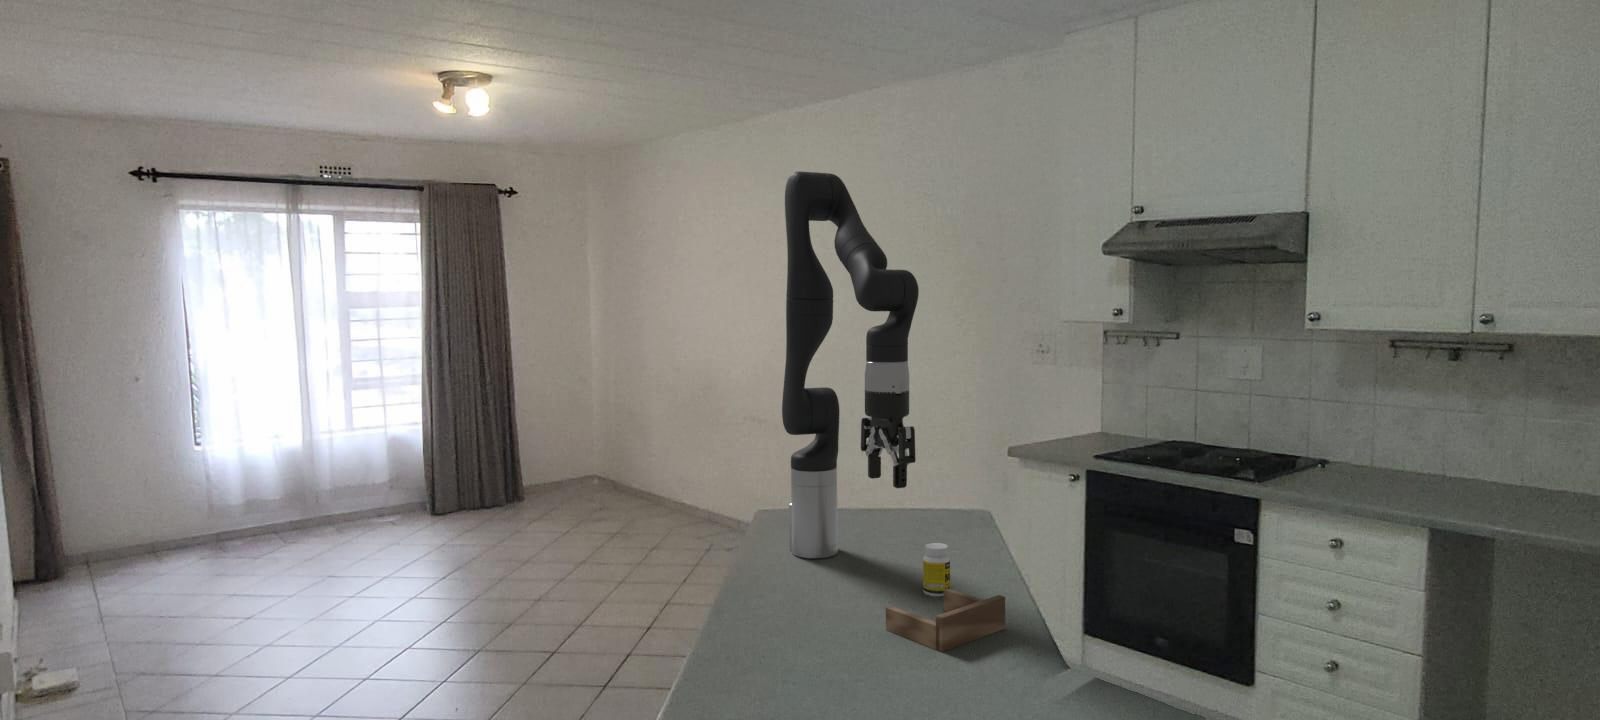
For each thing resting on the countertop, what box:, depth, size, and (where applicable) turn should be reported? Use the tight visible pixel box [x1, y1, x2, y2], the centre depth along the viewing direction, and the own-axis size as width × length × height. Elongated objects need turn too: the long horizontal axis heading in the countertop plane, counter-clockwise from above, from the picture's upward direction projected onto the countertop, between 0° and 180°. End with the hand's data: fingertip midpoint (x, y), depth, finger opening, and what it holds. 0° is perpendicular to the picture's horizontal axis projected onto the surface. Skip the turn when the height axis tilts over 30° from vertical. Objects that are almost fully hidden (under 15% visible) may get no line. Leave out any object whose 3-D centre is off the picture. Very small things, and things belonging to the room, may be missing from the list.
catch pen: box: [885, 588, 1006, 653], centre depth 131 cm, size 12×14×5 cm
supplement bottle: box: [922, 542, 951, 597], centre depth 148 cm, size 5×5×8 cm
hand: (886, 482), depth 144 cm, fingers open, 8 cm apart
